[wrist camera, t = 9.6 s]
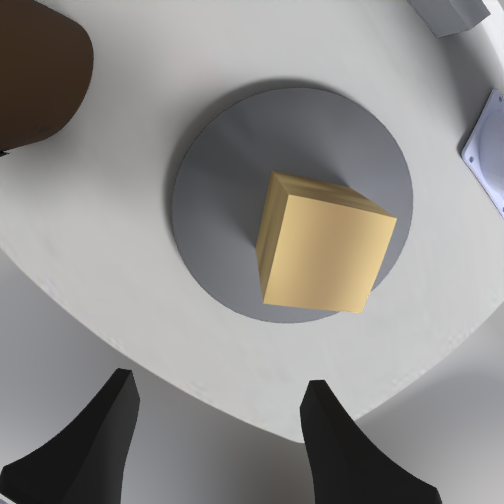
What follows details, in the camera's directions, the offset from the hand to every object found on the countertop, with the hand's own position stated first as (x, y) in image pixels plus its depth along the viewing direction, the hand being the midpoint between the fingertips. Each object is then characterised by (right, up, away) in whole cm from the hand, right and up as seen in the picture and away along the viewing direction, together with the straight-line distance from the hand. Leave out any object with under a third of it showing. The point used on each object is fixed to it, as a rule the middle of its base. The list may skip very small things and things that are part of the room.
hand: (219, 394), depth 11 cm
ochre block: (+4, +8, +7) cm, 11 cm away
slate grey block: (+15, +24, +1) cm, 28 cm away
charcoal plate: (+4, +8, +8) cm, 12 cm away
